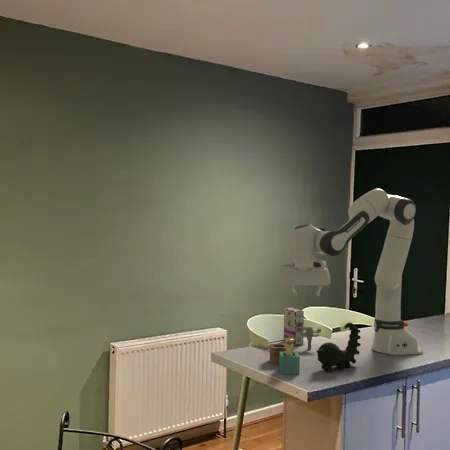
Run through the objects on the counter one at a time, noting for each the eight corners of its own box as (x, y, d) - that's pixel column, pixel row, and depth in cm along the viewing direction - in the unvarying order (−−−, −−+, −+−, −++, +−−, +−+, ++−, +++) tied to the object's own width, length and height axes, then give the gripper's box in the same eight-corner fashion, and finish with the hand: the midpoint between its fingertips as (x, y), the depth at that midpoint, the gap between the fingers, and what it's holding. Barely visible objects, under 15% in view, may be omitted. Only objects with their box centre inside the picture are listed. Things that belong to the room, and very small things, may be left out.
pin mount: (286, 360, 230) (286, 343, 229) (288, 364, 222) (288, 348, 222) (269, 359, 230) (269, 343, 229) (270, 364, 222) (271, 347, 222)
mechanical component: (320, 350, 245) (320, 329, 245) (298, 349, 247) (298, 327, 247) (320, 349, 248) (320, 327, 248) (298, 347, 250) (298, 326, 250)
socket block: (297, 368, 216) (297, 351, 216) (299, 374, 209) (299, 356, 209) (279, 368, 217) (279, 351, 216) (280, 374, 209) (281, 356, 209)
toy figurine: (346, 364, 229) (306, 369, 213) (349, 320, 230) (309, 322, 214) (364, 369, 222) (324, 375, 206) (367, 323, 222) (327, 326, 207)
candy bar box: (303, 345, 256) (304, 310, 255) (294, 346, 254) (295, 311, 253) (292, 339, 266) (292, 306, 266) (283, 340, 264) (283, 307, 264)
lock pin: (292, 369, 215) (292, 337, 215) (295, 372, 211) (296, 339, 211) (283, 370, 215) (283, 338, 214) (286, 373, 211) (286, 340, 210)
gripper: (278, 264, 224) (280, 297, 224) (327, 263, 217) (329, 297, 217) (282, 263, 230) (284, 295, 230) (330, 262, 223) (331, 295, 223)
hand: (306, 296), depth 223 cm, fingers open, 8 cm apart
